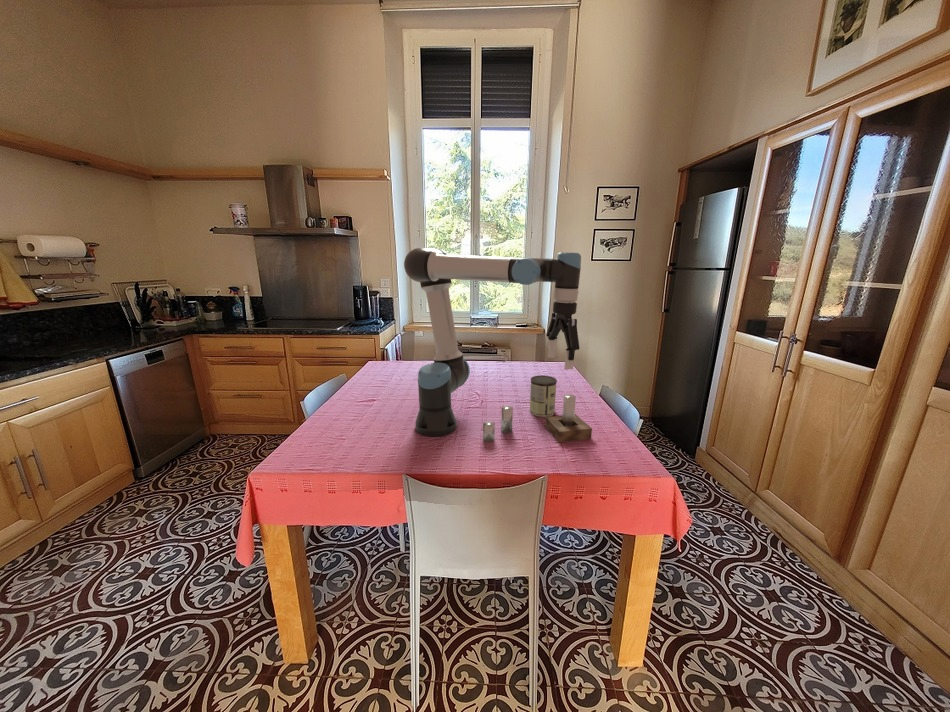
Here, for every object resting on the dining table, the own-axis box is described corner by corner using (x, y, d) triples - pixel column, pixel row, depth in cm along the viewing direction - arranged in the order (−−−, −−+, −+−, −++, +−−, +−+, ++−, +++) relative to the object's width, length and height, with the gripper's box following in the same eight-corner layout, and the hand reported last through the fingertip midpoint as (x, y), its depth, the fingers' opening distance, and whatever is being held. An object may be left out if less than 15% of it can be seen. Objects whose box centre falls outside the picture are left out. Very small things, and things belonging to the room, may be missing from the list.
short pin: (484, 442, 120) (484, 426, 119) (481, 437, 124) (481, 421, 122) (495, 441, 121) (496, 425, 119) (492, 436, 125) (493, 420, 123)
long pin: (564, 435, 125) (567, 398, 121) (559, 430, 129) (562, 394, 125) (574, 434, 126) (577, 398, 122) (569, 429, 130) (572, 393, 126)
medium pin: (502, 433, 127) (503, 410, 124) (499, 428, 130) (500, 406, 128) (513, 432, 127) (514, 409, 125) (510, 427, 131) (510, 405, 129)
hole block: (558, 442, 120) (559, 431, 119) (545, 426, 132) (545, 416, 131) (591, 438, 123) (592, 428, 122) (574, 423, 134) (575, 414, 133)
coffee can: (533, 405, 151) (534, 373, 148) (557, 409, 147) (559, 377, 144) (526, 414, 142) (527, 381, 139) (551, 419, 138) (553, 385, 135)
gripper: (595, 306, 105) (587, 374, 111) (559, 296, 128) (554, 353, 134) (572, 306, 103) (565, 375, 109) (540, 296, 127) (535, 353, 133)
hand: (559, 363), depth 122 cm, fingers open, 13 cm apart
